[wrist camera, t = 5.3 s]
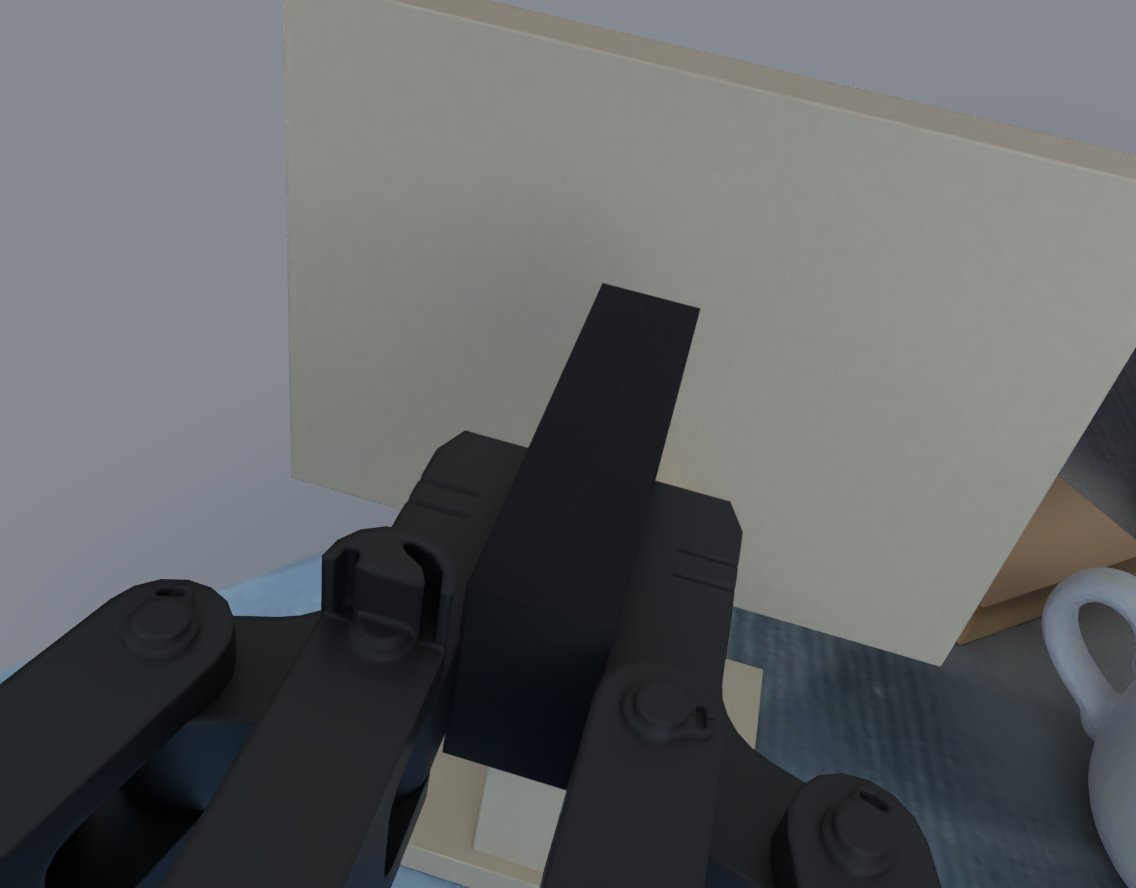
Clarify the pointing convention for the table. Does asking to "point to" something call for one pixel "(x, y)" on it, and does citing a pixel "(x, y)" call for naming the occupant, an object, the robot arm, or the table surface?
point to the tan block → (1050, 559)
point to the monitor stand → (519, 808)
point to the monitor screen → (703, 288)
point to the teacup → (1100, 705)
